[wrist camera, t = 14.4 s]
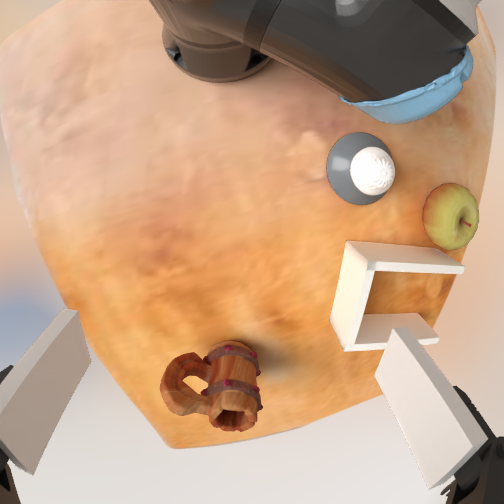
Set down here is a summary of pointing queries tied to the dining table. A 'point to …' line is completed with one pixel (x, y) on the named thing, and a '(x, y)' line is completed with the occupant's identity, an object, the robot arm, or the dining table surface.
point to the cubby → (358, 287)
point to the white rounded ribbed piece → (372, 171)
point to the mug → (216, 386)
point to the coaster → (341, 163)
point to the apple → (450, 216)
